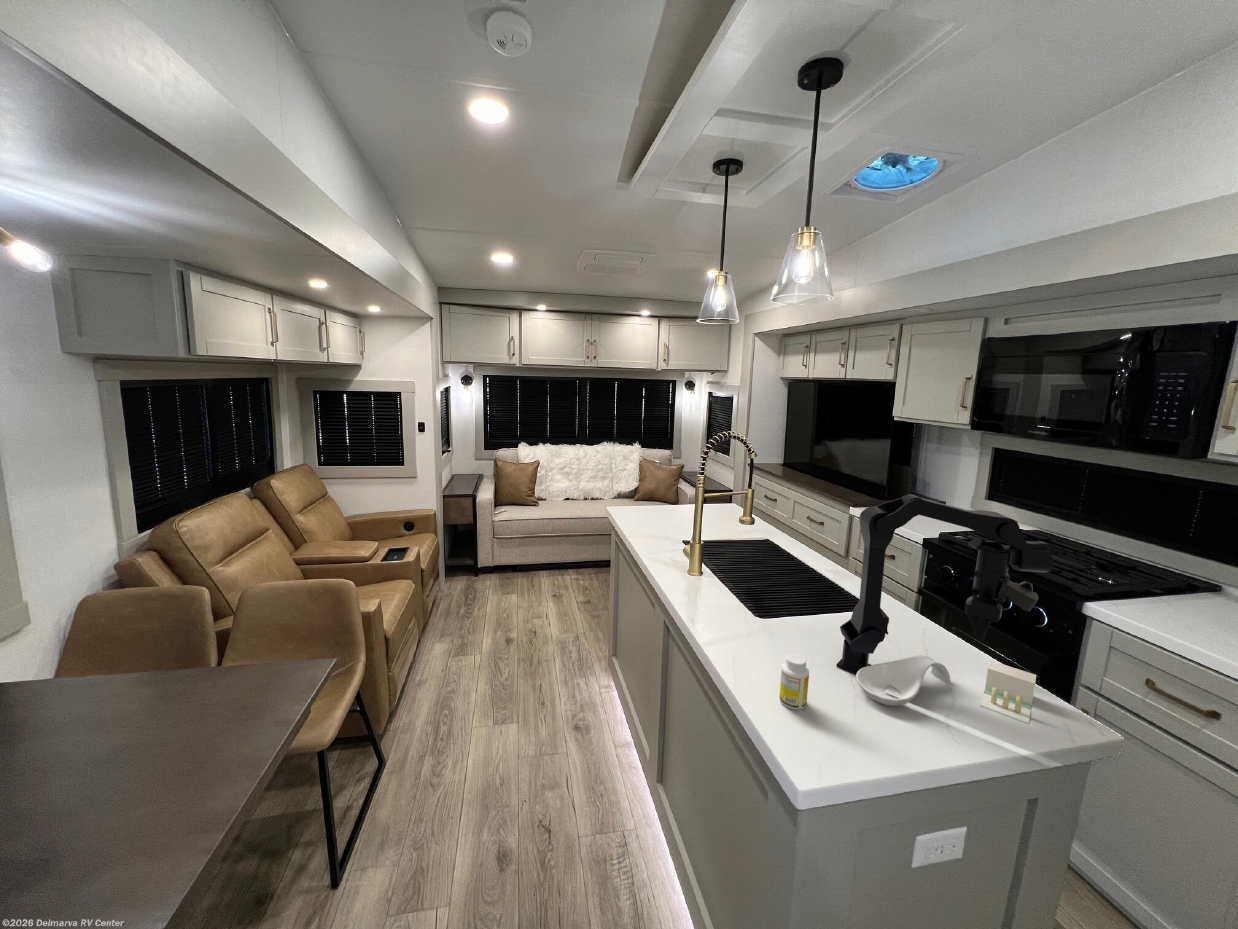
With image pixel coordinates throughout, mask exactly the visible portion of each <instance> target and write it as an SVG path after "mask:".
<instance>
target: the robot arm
mask: <svg viewBox="0 0 1238 929" xmlns="http://www.w3.org/2000/svg"><path fill="white" fill-rule="evenodd" d="M917 516H921V517H926V518H929V519H932V520H933V519H934V520H936V521H937V520H938V521H940V522H945V523H948V524H951V525H952V524H953V525H955V526H959V527H963V528H967V529H970V530H971V531H974V532H976V533H978V534H980V535H982V536H985V537H987V538H988V539H989V538H990V539H991V540H985V538H982V537H980V536H977V537H976V538H975V539H973V540H971V541H969V542H968V543H967V544H968V546H970V547H972V548H974V549H975V550H977V551H978V552H977V557H976V558H977V559H976V566H975V570H974V572H973V577H974V579H973V585H972V588H971V590H970V591H971V594H973V595H972V596H970V597H968V598H967V599H966V601H965V605H964V612H965V614H966V615H967V617H968V619H969V621H970V624H971V627H972V630H973V634H974V635H975V638H976V640H978V641H983V640H984V638H985V636H986V633H988V632H987V631H988V629H989V626H990V624H991V623H993V622H998V621H1000V620H1001V617H1002V613H1003V606H1002V604H1003V603H1005V602H1006V600H1007V601H1009V602H1010V603H1012V604H1014V605H1015V606H1018V607H1020V608H1021V610H1023V611H1025V612H1030V611H1031V610H1032V609H1033V607H1034V606H1036V603H1037V602H1038V600H1039V595H1038V593H1037V592H1035V591H1033V590H1034V589H1033V586H1034V585H1033V584H1032V583H1031V582H1028V581H1026V580H1024V581H1022V582H1019V583H1018V582H1013V581H1011V580H1010V574H1009V566H1010V567H1011V568H1012V569H1013V570H1015V571H1019V572H1030V573H1031V572H1034V573H1049V572H1050V571H1051V570H1052V568H1053V566H1054V560H1053V556H1052V553H1051V551H1050V550H1049V546H1050V545H1049V543H1047V542H1044V541H1042V540H1041V541H1040V540H1035V541H1034V540H1032V541H1031V540H1030V541H1029V540H1026V539H1025V538H1024V537H1023V535H1022V533H1021V530H1020V528H1021V527H1020V525H1019V522H1018V521H1017V520H1016V519H1013V518H1010V517H1009V516H1007V515H1004V514H1001V513H998V512H996V511H991V510H990V511H989V510H982V509H981V510H980V509H975V510H974V509H973V510H972V509H964V508H960V507H957V506H954V505H953V506H952V505H950V504H946V503H942V502H938V501H934V500H931V499H928V498H923V497H920V496H917V495H915V494H910V493H907V494H905V495H903V496H901V497H899V498H895V499H894V500H889V501H886V502H883V503H880V504H879V505H876V506H868V507H866V508H865V509H864V510H862V511H861V512H860V514H859V527H860V533H861V537H862V540H863V555H862V556H863V557H862V566H861V579H860V588H859V600H858V602H857V603H856V605H855V606H854V608H853V611H852V614H851V617H850V619H849V620H847V621H846V622H844V623H843V624H842V625H840V627H839V629H840V633H841V635H842V636H843V637H844V640H843V646H842V654H841V659H840V660H839V661H837V663H836V667H837V668H839V669H842V670H844V671H846V672H849V673H851V674H854V675H856V674H857V672H858V671H859V670H860V669H862V668H864V667H867V666H871V665H872V664H871V663H869V658H870V654H872V655H873V654H874V653H875V650H876V649H877V647H878V645H879V644H880V643H882V642H884V640H885V638H886V635H889V632H888V626H889V623H890V617H889V616H888V615H887V613H886V612H885V611H884V610H883V609H882V607H881V602H882V593H883V592H882V591H883V581H884V570H885V561H886V551H887V548H888V546H889V545H891V542H892V540H893V538H894V534H895V531H896V530H898V529H899V528H902V527H903V526H905V525H907V524H908V523H909V522H910V521H911V520H912V519H913V518H915V517H917ZM993 540H994V541H993ZM1004 544H1007V545H1004Z"/></svg>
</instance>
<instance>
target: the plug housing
mask: <svg viewBox="0 0 1238 929" xmlns="http://www.w3.org/2000/svg"><path fill="white" fill-rule="evenodd" d="M1036 681H1037V674H1036V673H1035V674H1034V673H1031V672H1028V671H1025V670H1022V669H1019V668H1015V667H1012V666H1009V665H1006V664H1003V663H1000V662H996V661H994V660H990V661H989V664H988V667H987V674H986V681H985V688H984V690H985V689H987V690H990V691H992V689H993V687H996V688H998V689H999V690H998V694H1001V695H1004V692H1005V691H1007V692H1009V693H1011V694H1010V698H1012V699H1015V700H1016V697H1017V696H1021V697H1023V701H1022V702H1024V703H1026V704H1029V705H1031V706H1032V705H1033V697H1034V694H1035V693H1034V692H1035V686H1036Z"/></svg>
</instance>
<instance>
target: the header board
mask: <svg viewBox="0 0 1238 929" xmlns="http://www.w3.org/2000/svg"><path fill="white" fill-rule="evenodd" d="M998 690H999V689H998V688H996V687H993V689H992V691H990V690H987V689H985V688H984V690H983V694H982V697H981V700H980V703H979V707H981V708H984V709H987V710H990V711H991V712H995V713H998V714H1001V715H1003V716H1006V717H1008V718H1011V719H1013V720H1017V721H1020V722H1022V723H1025V724H1027V725H1029V724H1030V718H1031V710H1032V705H1029V704H1026V703H1024V702H1022V701H1023V697H1021V696H1017V697H1016V700H1015V699H1012V698H1010V694H1011V693H1009V692H1007V691H1005V692H1004V695H1001V694H998Z"/></svg>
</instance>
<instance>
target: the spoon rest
mask: <svg viewBox="0 0 1238 929" xmlns="http://www.w3.org/2000/svg"><path fill="white" fill-rule="evenodd" d="M929 668H931V669H930V673H931V676H934V677H936V678H937V679H939V680H940V681H942V682H944V683H947V684H951V683H952V681H951V676H950V673H949V670H948V668H947V667H946V666H945V665H944V664H942V663H941V662H939V661H936V660H934V658H932V657H931V656H928V655H924V654H923V655H914V656H909V657H906V658H902V659H897V660H893V661H888V662H882V663H877V664H873V665H872V664H871V666H867V667H864V668H862V669H860V670H859V671H858V672H857V674H855V679H856V682H857V685H858V686H859V687H860V689H861V690H862V691H863V692H864V693H865V694H866V695H867V696H868V697H869V698H871V699H872V700H874V701H876V702H877V703H880V704H883V705H886V706H887V705H888V706H892V707H894V706H895V707H896V706H897V707H898V706H903V705H906V704H908V703H910V702H911V701H912V700H914V698H916V696H917V695H918V693H919V691H920V689H921V686H922V684H923V680H924V677H925V675H926V672H927V671H928V670H929ZM889 686H891V687H893V688H895V689H897V690H898V691H899V693H900V695H901V697H897V696H895V695H893V694H890V693H888V692H885V691H886V689H887V688H888V687H889Z"/></svg>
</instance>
